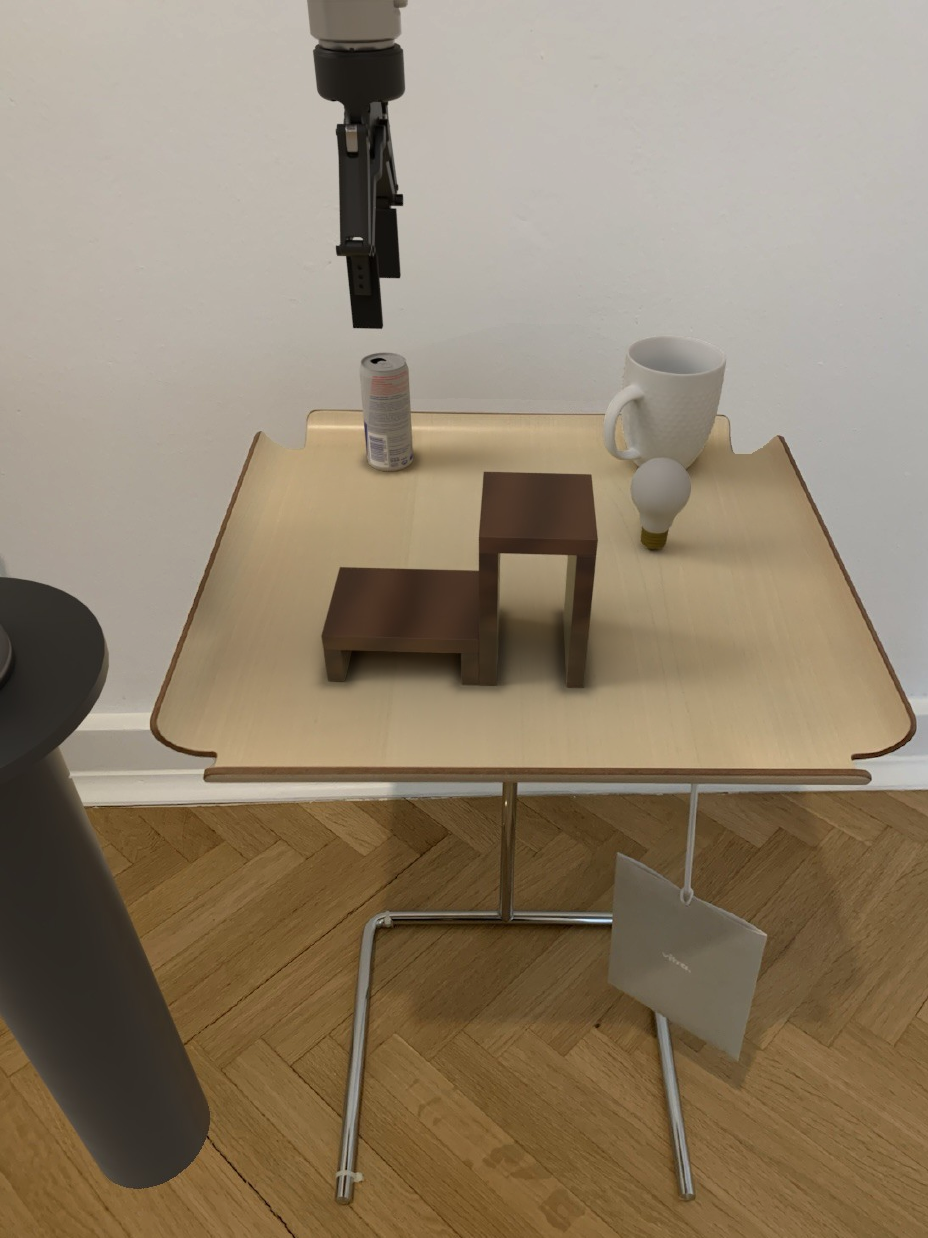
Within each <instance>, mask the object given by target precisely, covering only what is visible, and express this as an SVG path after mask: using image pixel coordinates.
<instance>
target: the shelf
mask: <svg viewBox="0 0 928 1238" xmlns="http://www.w3.org/2000/svg"><path fill="white" fill-rule="evenodd" d="M482 474H483V476H482V488H481V501H480V502H481V503H480V513H479V514H480V515H479V527H478V570H471V569H470V570H469V569H467V570H466V569H429V568H391V567H389V568H388V567H355V566H353V567H352V566H350V567H349V566H340V567H339V569H338V572H337V576H336V580H335V583H334V586H333V590H332V595H331V598H330V602H329V606H328V611H327V614H326V617H325V620H324V625H323V627H322V631H321V635H320V636H321V645H322V649H323V658H324V664H325V671H326V678H327V681H328V682H345V681H346V679H347V675H348V670H349V666H350V665H349V664H350V660H351V656H352V651H360V652H361V651H362V652H363V651H364V652H365V651H366V652H367V651H368V652H399V653H400V652H403V653H405V652H406V653H435V654H436V653H441V654H460V671H461V672H460V673H461V676H460V677H461V685H463V686H465V685H467V686H497V685H498V684H497V681H498V680H497V679H498V659H499V657H498V656H499V638H500V637H499V634H500V610H501V609H500V608H501V607H500V604H501V603H500V601H501V599H500V598H501V554H503V555H505V554H506V555H507V554H509V555H512V554H513V555H541V556H542V555H544V556H548V555H549V556H567V560H566V576H565V588H564V604H563V637H564V663H565V664H564V665H565V685H566V688H581V689H583V688H584V687H585V678H586V667H587V659H588V649H589V636H590V627H591V615H592V605H593V597H594V585H595V576H596V575H595V573H596V565H597V555H598V554H597V553H598V543H599V537H598V528H597V527H598V526H597V516H596V507H595V505H596V504H595V496H594V485H593V476H592V474H591V473H561V472H559V473H557V472H553V473H551V472H521V471H520V472H517V471H516V472H515V471H483V473H482Z"/></svg>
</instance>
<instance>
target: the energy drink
mask: <svg viewBox="0 0 928 1238" xmlns="http://www.w3.org/2000/svg"><path fill="white" fill-rule="evenodd" d="M406 359H407V358H405V357H404V356H403V355H401V354H398V353H393V352H375V353H371V354H368V355H365V356H364V357H363V358H361V360H360V366H359V370H358V373H359V383H360V395H361V405H362V418H363V427H364V429H363V431H364V437H365V439H364V440H365V450H366V451H365V452H366V462H367V463H368V465H369V466H370V467H372V468H373V469H375V470H377V471H380V472H397V471H401V470H405V469H406V468H407V467H409V466H410V465H411V464H412V462H413V460H414V447H413V446H414V445H413V429H412V410H411V409H412V408H411V391H410V390H411V389H410V388H411V387H410V371H409V366H408V364H407V360H406Z"/></svg>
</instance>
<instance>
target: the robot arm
mask: <svg viewBox="0 0 928 1238" xmlns="http://www.w3.org/2000/svg"><path fill="white" fill-rule="evenodd" d="M306 4H307V5H306V6H307V11H308V12H307V15H308V24H309V25H308V26H309V33H310V36H312V37H313V39H314V40H317V41H318V44H316V45H315V46H314V49H312V57H313V65H314V74H315V83H316V91H317V93H318V95H319V96H320V97H321V98H322V99H324V100H325V101H329V102H333V103H335V102H338V103H340V104H341V105H343V109H344V110H343V111H344V112H343V123H337V124H336V128H335V136H336V141H337V142H336V143H337V144H336V145H337V155H338V157H337V158H338V200H339V201H338V202H339V203H338V205H339V208H338V209H339V245H337V244H336V245H335V255H336V256H337V257H345V260H346V261H345V263H346V271H347V281H348V291H349V292H348V293H349V301H350V302H349V303H350V310H351V311H350V312H351V322H352V329H365V330H367V329H368V330H369V329H370V330H371V329H372V330H373V329H374V330H382V329H383V328H384V317H383V305H382V291H381V279H401V274H402V273H401V260H400V259H401V258H400V244H399V228H398V227H399V226H398V212H397V211H398V210H397V208H396V207H404V194H403V193H398V191H399V184H398V179H397V171H396V164H395V155H394V149H393V140H392V133H391V124H390V119H389V118H390V117H389V102H392V101H395V100H398V99H400V98H401V97H402V96H404V94H405V92H406V76H405V59H404V58H405V57H404V56H405V55H404V49H403V48H402V46H401V45H400V44H399V43H397V42H395V41H396V40H397V39H398V38H399V37H400V36H401V35H402V33H403V32H402V15H401V10H400V9H405V8H406V7H408V5H409V0H306ZM392 207H394V208H392ZM354 238H360V239H354ZM14 664H15V653H14V650H13V647H12V644H11V642H10V640H9V637H8V635H7V633H6V632H5V631H4V629H3V627H2V626H1V624H0V690H1V689H2V688H3V687H4V685H5V684H6V682H7V681H8V679H9V677H10V676H11V673H12V671H13V668H14Z"/></svg>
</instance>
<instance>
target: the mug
mask: <svg viewBox="0 0 928 1238" xmlns="http://www.w3.org/2000/svg"><path fill="white" fill-rule="evenodd" d="M726 365H727V357H726V354H725V352H724V351H723V349H721V348H720V347H718V346H717V345H716V344H713V343H711V342H709V341H706V340H703V339H700V338H697V337H692V336H687V335H678V334H658V335H657V334H656V335H649V336H646V337H641V338H638V339H636V340H634V341H632V342H631V343H630V344H629V345H628V346H627V347H626V351H625V358H624V367H623V373H622V383H621V390H619V391H618V392H617V393H616V394H615V395H614V396H613V398H612V400H611V401H610V403H609V405H608V407H607V408H606V412H605V414H604V418H603V424H602V439H603V444H604V446H605V449H606V451H607V452H608V454H610V455H611V457H613V458H615V459H617V460H619V461H625V462H628V461H629V462H631V461H632V462H633V463H634V464H635V465H636V466H637V467H638V468H639V467H640V466H641V465H642V464H644V463H645V462H647V461H649V460H651V459H654V458H660V457H664V458H670V459H673V460H675V461H677V462H678V463H680V464H681V465H682V466H683V467H684V468H685V469H686V470H687V469H688V468H690V467H691V466H692V464H693V463H695V461H696V460H697V458H698V457H699V456H700V455H701V453H702V451H703V450H704V448H705V446H706V444H707V442H708V440H709V437H710V435H711V434H712V430H713V428H714V424H715V423H716V417H717V414H718V410H719V405H720V400H721V396H722V391H723V384H724V380H725V371H726V367H727V366H726ZM620 415H621V425H622V435H623V438H624V442H625V446H626V449H625V450H620V449H618V446H617V443H616V428H617V423H618V420H619V416H620Z"/></svg>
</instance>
